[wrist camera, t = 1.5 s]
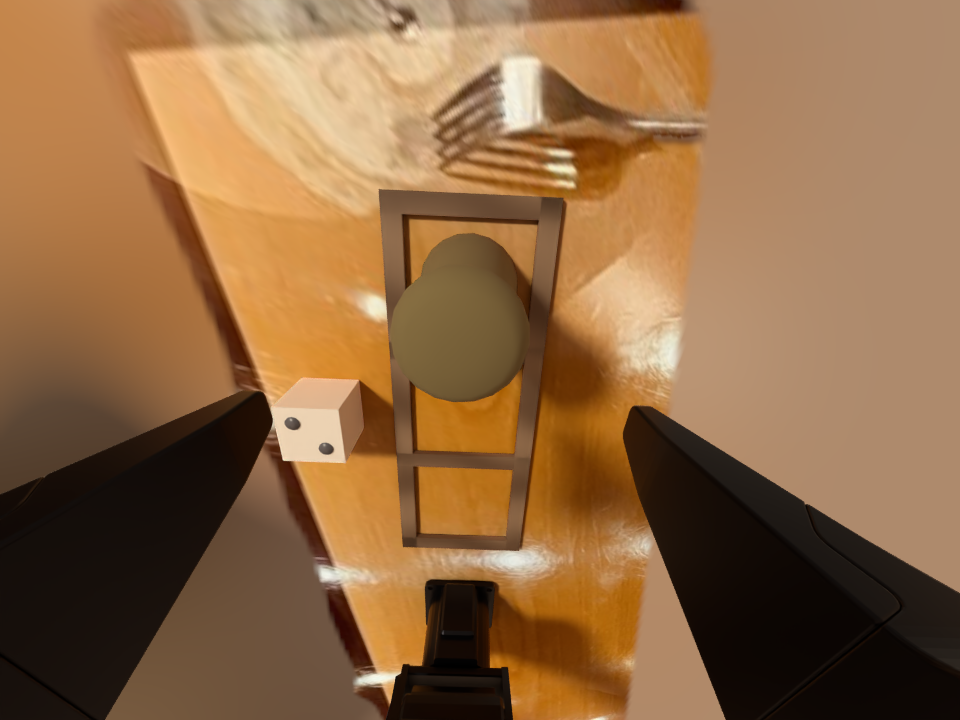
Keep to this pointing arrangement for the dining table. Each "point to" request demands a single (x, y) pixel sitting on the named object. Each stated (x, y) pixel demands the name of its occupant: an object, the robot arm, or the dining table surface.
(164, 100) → the dining table surface
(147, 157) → the dining table surface
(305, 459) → the die
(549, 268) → the three-pane window frame
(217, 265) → the dining table surface
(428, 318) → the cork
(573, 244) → the dining table surface
